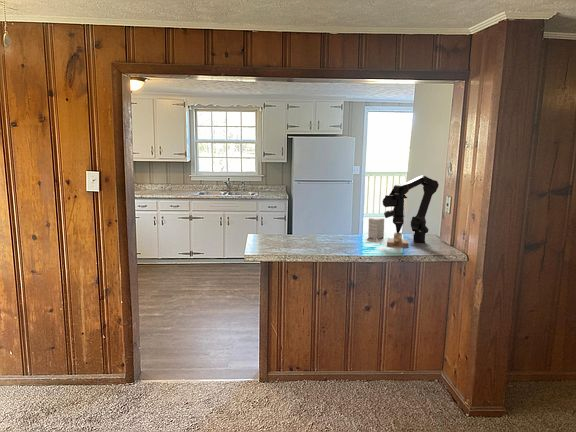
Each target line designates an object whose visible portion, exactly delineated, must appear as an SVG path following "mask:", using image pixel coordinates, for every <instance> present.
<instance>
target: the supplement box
mask: <svg viewBox="0 0 576 432" xmlns="http://www.w3.org/2000/svg"><path fill="white" fill-rule="evenodd" d="M367 234H368V238H372V239H375V240H377V239H381V238H382V237H383V238H384V236H385V218H383V217H375V216H374V217H369V218H368V232H367Z"/></svg>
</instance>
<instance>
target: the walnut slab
mask: <svg viewBox="0 0 576 432" xmlns="http://www.w3.org/2000/svg"><path fill="white" fill-rule="evenodd" d="M386 241H387V242H386V247H390V248H391V247H395V248H409V239H408V238H402V242H397V241H394V238H387V240H386Z"/></svg>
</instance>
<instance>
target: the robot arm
mask: <svg viewBox="0 0 576 432" xmlns="http://www.w3.org/2000/svg"><path fill="white" fill-rule="evenodd" d="M420 185H422V190H423V195H422V199H421V201H420V204H419V207H418V211H417V213H416V215H415V216H412V217H411V219H410V220H411V221H410V228H411V231H412V232H414V233H413V234H412V235H413V236H412V237H413V239H412V241H413V243H420V244H421V243H422V244H425V243H426V234H427V233H429V228H428V227H427V226H426V224H427V220H426V215H427V212H428V209H429V205H430V203H431V200H432V197H433V195H434V194H435V193H436V192H437V190H438V188H439V182H438V180H437V179H436V180H435V179H432V178H430V177H428V176H426V175H419V176H417V177H415V178H413V179H410V180H409V181H406V182H404V183H398V184H395V185H393V188H392V190H391V192H389V194H388V195H385V196H384V198H383V199H382V206H383V207H384V208H392V207H393V208H392V209H391V210H386V211H384V212H383V215H384V217H385V218H384V219H387V218H391V217H392V224H394V225H395V231H396V233H401V232H400V231H401V229H402V227H403V225H404V223H405V215H404V214H405V212H404V211H405V199H408V196H407V195H406V194H408V193H409V191H410V190H411V189H413V188H416V187H418V186H420Z"/></svg>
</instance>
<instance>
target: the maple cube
mask: <svg viewBox="0 0 576 432" xmlns="http://www.w3.org/2000/svg"><path fill="white" fill-rule="evenodd" d="M393 239H394V241H397V242H402V239H403V232H399V233H397V232H394V233H393Z"/></svg>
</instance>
